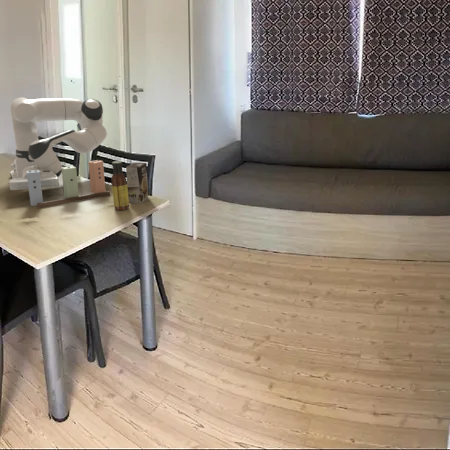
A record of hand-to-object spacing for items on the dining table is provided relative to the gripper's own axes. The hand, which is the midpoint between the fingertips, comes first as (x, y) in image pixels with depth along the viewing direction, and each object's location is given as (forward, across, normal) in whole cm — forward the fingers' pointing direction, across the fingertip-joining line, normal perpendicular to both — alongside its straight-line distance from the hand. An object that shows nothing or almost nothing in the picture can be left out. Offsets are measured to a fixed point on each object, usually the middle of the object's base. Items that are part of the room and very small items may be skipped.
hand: (35, 187), depth 232 cm
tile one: (0, +14, +7) cm, 16 cm away
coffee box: (+9, +42, +8) cm, 43 cm away
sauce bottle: (+18, +32, +8) cm, 38 cm away
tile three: (-7, +27, +7) cm, 29 cm away
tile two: (+2, 0, +7) cm, 7 cm away
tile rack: (-2, +14, +8) cm, 16 cm away
